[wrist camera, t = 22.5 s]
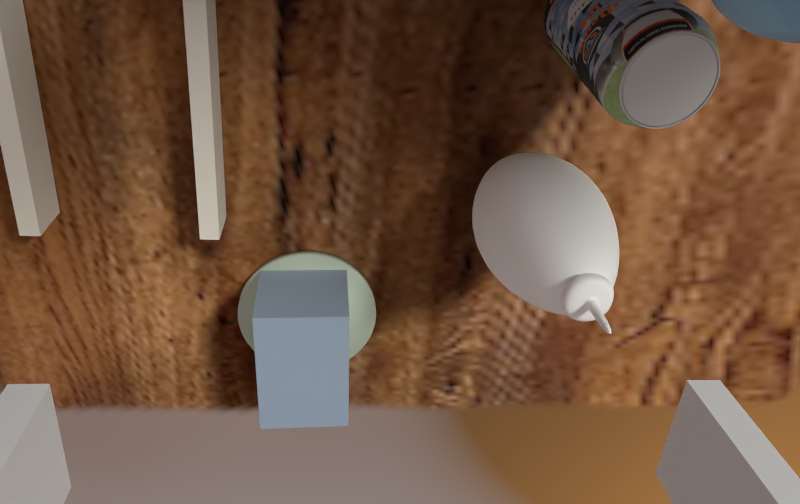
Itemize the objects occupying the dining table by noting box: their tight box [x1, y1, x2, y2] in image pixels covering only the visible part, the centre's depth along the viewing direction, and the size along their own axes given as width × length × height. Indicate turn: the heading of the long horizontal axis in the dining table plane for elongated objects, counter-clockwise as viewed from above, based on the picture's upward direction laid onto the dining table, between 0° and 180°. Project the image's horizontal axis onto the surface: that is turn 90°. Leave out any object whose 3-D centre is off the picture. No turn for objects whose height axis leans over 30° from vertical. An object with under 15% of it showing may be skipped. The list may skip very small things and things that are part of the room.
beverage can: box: [544, 0, 720, 129], centre depth 37 cm, size 6×7×12 cm
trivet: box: [238, 250, 376, 359], centre depth 50 cm, size 10×10×1 cm
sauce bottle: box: [472, 152, 619, 334], centre depth 39 cm, size 8×8×18 cm
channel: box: [0, 0, 226, 240], centre depth 40 cm, size 15×12×4 cm
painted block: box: [252, 270, 350, 429], centre depth 47 cm, size 9×6×6 cm, turn 177°
